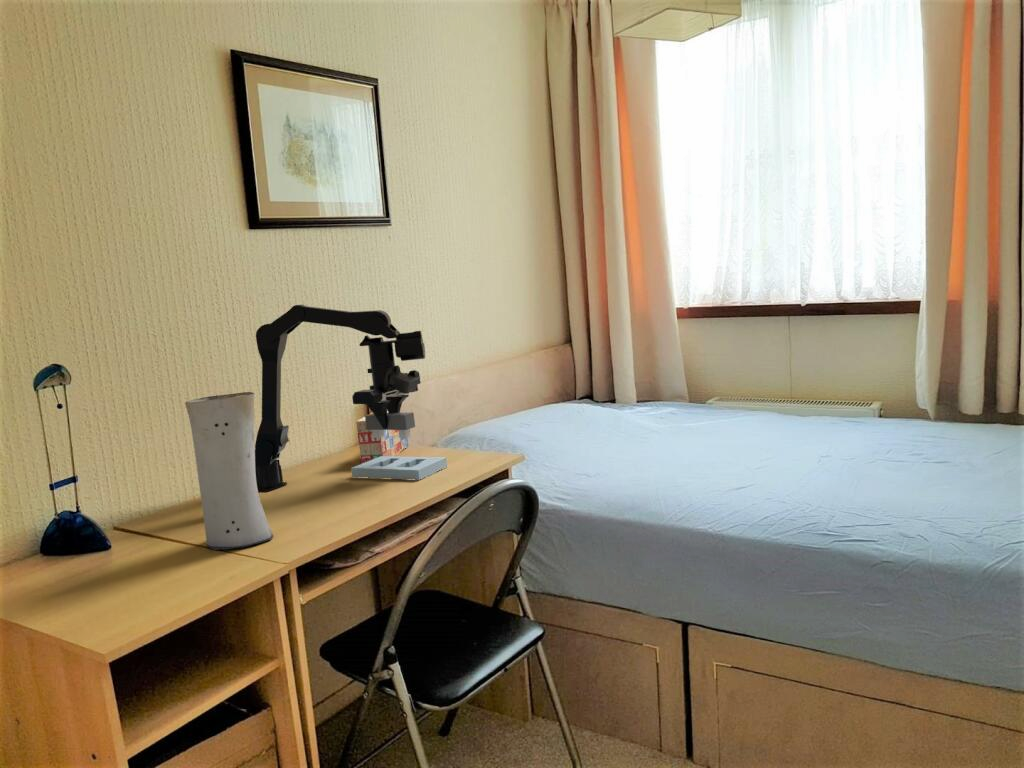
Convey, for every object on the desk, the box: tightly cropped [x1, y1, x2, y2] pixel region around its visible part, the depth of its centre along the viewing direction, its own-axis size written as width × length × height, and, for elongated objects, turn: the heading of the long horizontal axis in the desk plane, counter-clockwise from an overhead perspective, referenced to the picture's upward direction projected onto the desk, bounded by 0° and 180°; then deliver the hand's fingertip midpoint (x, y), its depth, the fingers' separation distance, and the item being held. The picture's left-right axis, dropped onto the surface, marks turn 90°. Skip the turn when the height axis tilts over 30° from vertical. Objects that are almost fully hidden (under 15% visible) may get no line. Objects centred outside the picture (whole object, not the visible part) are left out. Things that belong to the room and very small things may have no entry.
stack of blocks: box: [355, 410, 409, 464], centre depth 212 cm, size 21×6×12 cm, turn 170°
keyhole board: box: [351, 455, 448, 481], centre depth 191 cm, size 20×12×2 cm, turn 62°
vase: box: [184, 391, 274, 552], centre depth 147 cm, size 13×14×28 cm
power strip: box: [364, 412, 416, 438], centre depth 188 cm, size 12×4×6 cm, turn 62°
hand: (390, 426), depth 188 cm, fingers closed on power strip, 3 cm apart
